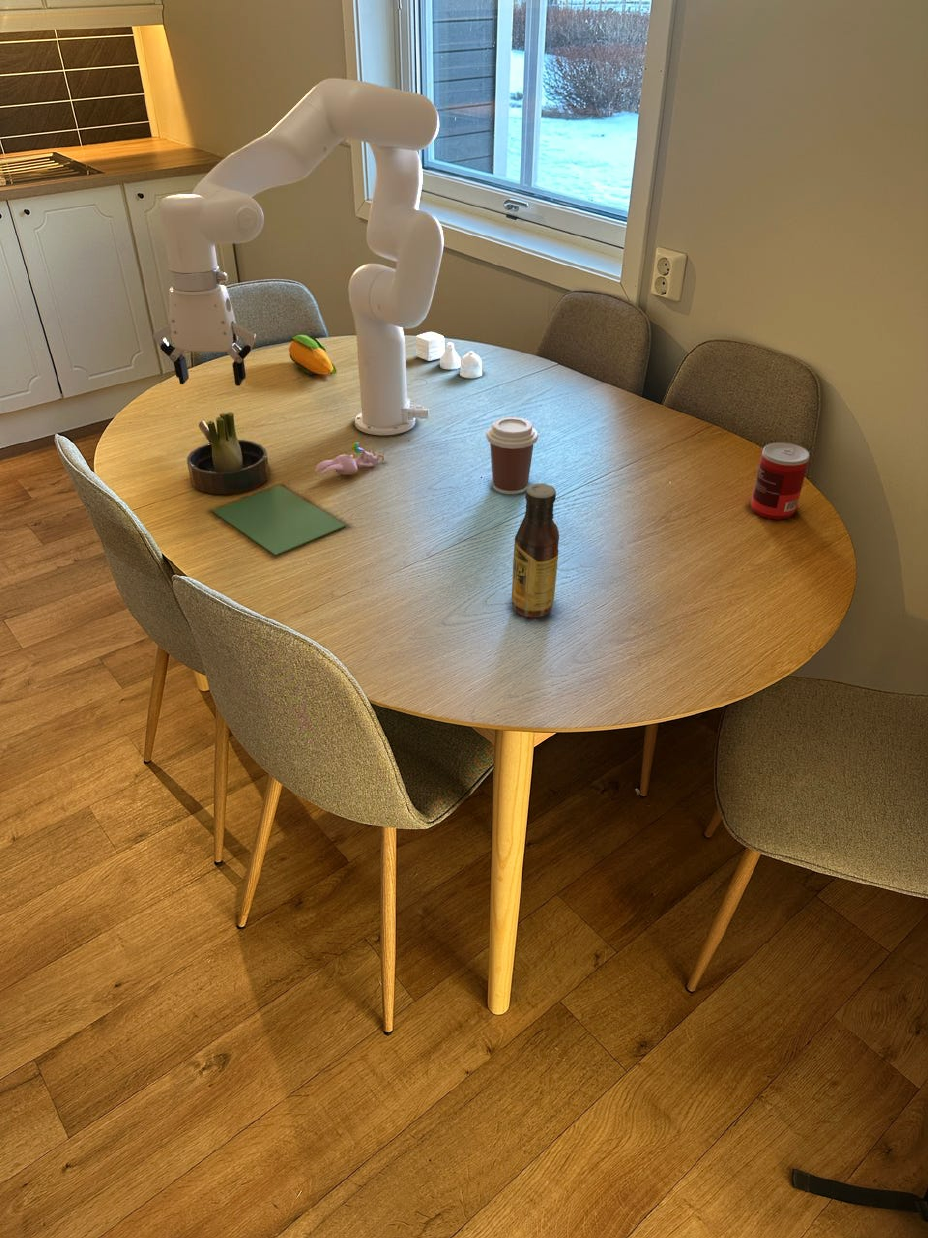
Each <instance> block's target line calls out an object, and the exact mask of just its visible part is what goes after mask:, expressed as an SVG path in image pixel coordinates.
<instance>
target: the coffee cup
mask: <svg viewBox="0 0 928 1238" xmlns="http://www.w3.org/2000/svg"><path fill="white" fill-rule="evenodd" d="M533 427H534V425H533V424H532V422H531V421H529V420H528V419H526V418H522V417H518V416H517V417H516V416H505V417H501V418H498V419H496V420H494V421H493V423H492V426H491V427H490V428H488V430H487V432H486V435H485V436H486V440H487V442H488V443H489V444H490V460H491V476H492V477H491V478H492V487H493V490H495V491H496V492H498V493H501V494H504V495H517V494H521V493H524V492H526V489H527V488H528V487H529V479H530V473H531V465H532V457H533V451H534V444H536V443H537V442H538V439H539V434H538V432H537V430H536V429H535V428H533Z"/></svg>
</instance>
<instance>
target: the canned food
mask: <svg viewBox="0 0 928 1238" xmlns="http://www.w3.org/2000/svg"><path fill="white" fill-rule="evenodd" d="M810 455H811V454H810V452H809V451H808V450H807V449H806V448H805V447H803V446H801V445H799V444H795V443H790V442H781V441H780V442H772V443H768V444H766V445H765V446H764V447H763V448H762V451H761V455H760V459H759V464H758V469H757V473H756V477H755V482H754V487H753V492H752V496H751V501H750V505H751V507H750V508H751V510H752V511H753V512H754V513H755V514H756V515H758V516H760V517H761V518H765V519H769V520H785V519H788V518H791V517H792V516H793V515H794V513H796V510H797V509H798V508H797V507H798V503H799V500H800V496H801V493H802V489H803V485H804V481H805V477H806V474H807V469H808V466H809V462H810Z"/></svg>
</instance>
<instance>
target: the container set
mask: <svg viewBox="0 0 928 1238" xmlns="http://www.w3.org/2000/svg"><path fill="white" fill-rule="evenodd" d="M445 346H446V349H445ZM415 354H416V357H417V358H420V359H422V360H425V361H427V362H429V361H430V362H431V361H434V360H438V359H439V367H440V368H441V369H443V370H449V371H450V370H451V371H452V370H457V369H459V368H460V371H459V376H460V377H461V378H465V379H478V378H480V377H482V376H483V371H482V366H483V364H482V359H481V357H480V355H478V354H477V353H474V351H473V350H472V351H468V353H466V354H464V355H463V356H462V358H461V357H460V356H459V354H458V353H457V351H456V350H455V344H454V343H453V342H451V341H450V342H447V343H446V345H445V337H444V335H442V334H439V333H437V332H434V331H427V332H424V333H420V334H417V335H416V336H415Z"/></svg>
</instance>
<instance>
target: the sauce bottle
mask: <svg viewBox="0 0 928 1238" xmlns="http://www.w3.org/2000/svg"><path fill="white" fill-rule="evenodd" d="M556 495H557V491H556V489H555V487H554V486H552V485H550V484H547V483H541V482H539V483H532V484H531V485H528V487H527V489H526V490H525V496H524V498H525V501H526V503H525V512H524V517H523V518H522V521H521V523H520V525H519V528H518V530H517V532H516V534H515V536H514V546H513V547H514V548H513V560H512V561H513V564H512V581H511V582H512V583H511V601H512V602H511V605H512V608H513V610H514V611H515V612H516V613H517V614H518V615H520V616H521V617H524V618H532V619H534V618H535V619H536V618H542V617H544V616H547V615H548V614H550V613H551V611H552V609H553V605H554V603H555V592H556V582H557V574H558V573H557V570H558V563H559V562H558V561H559V551H560V550H559V540H560V532H559V529H558V525H557V524H556V523H555V522H554V520H553V519H554V504H555V501H556Z"/></svg>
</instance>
